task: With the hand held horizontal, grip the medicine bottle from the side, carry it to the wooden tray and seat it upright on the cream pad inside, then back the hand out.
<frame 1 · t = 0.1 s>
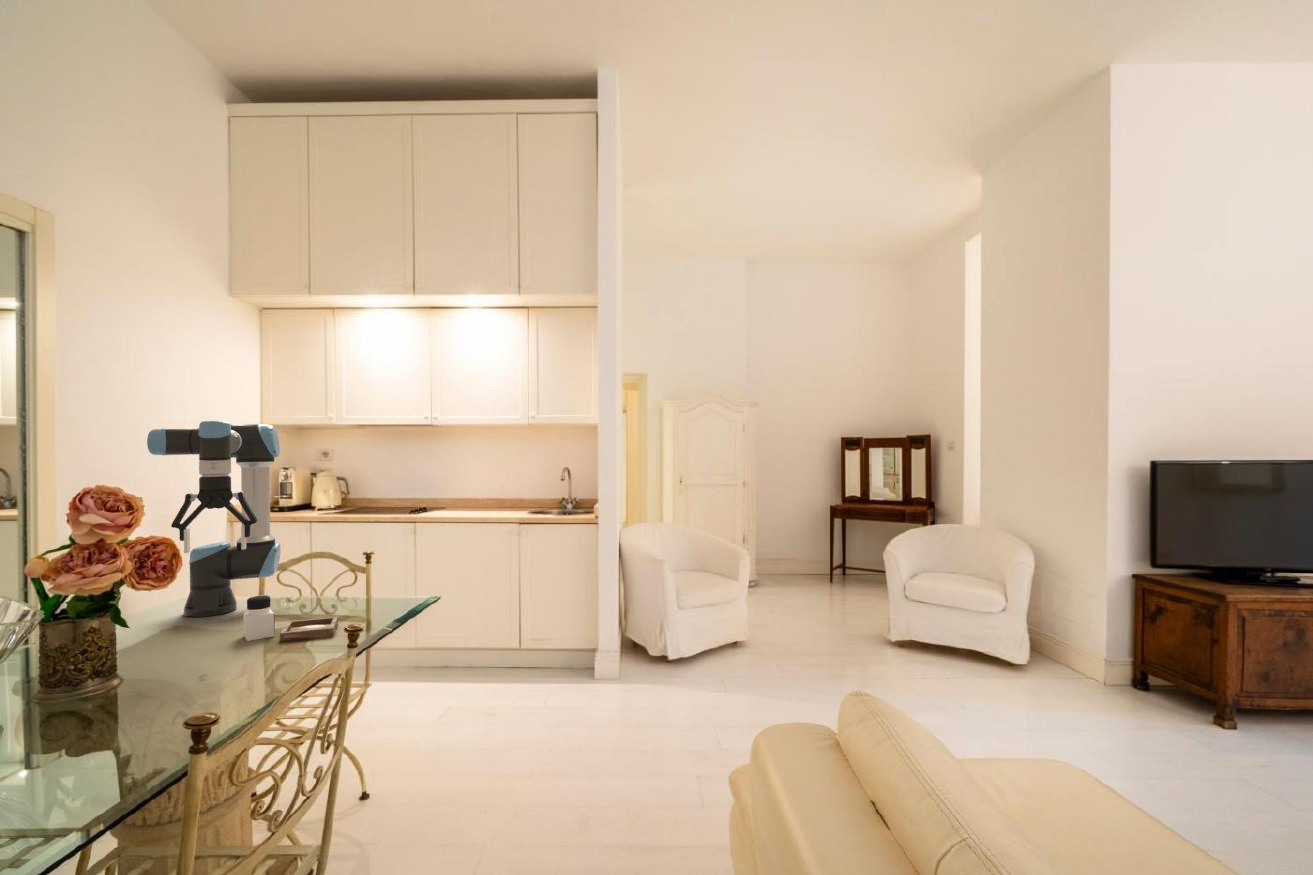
hand: (215, 550, 186), 28 cm above the table, tool pointing down, fingers open, 13 cm apart
medicine bottle: (259, 637, 197), on the table
wooden tray: (310, 632, 200), on the table
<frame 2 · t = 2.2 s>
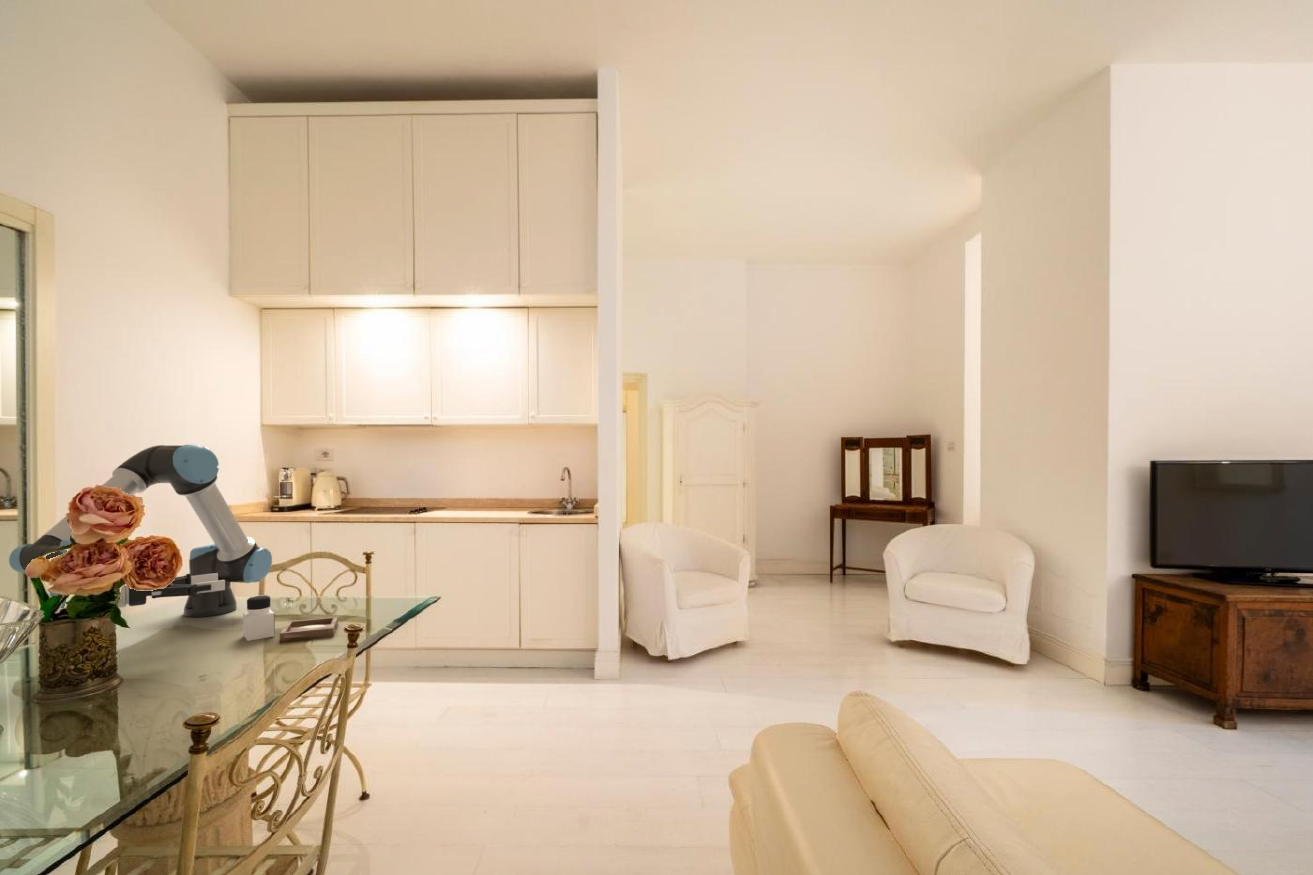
hand: (221, 581, 191), 18 cm above the table, tool horizontal, fingers open, 13 cm apart
nothing on the table moved.
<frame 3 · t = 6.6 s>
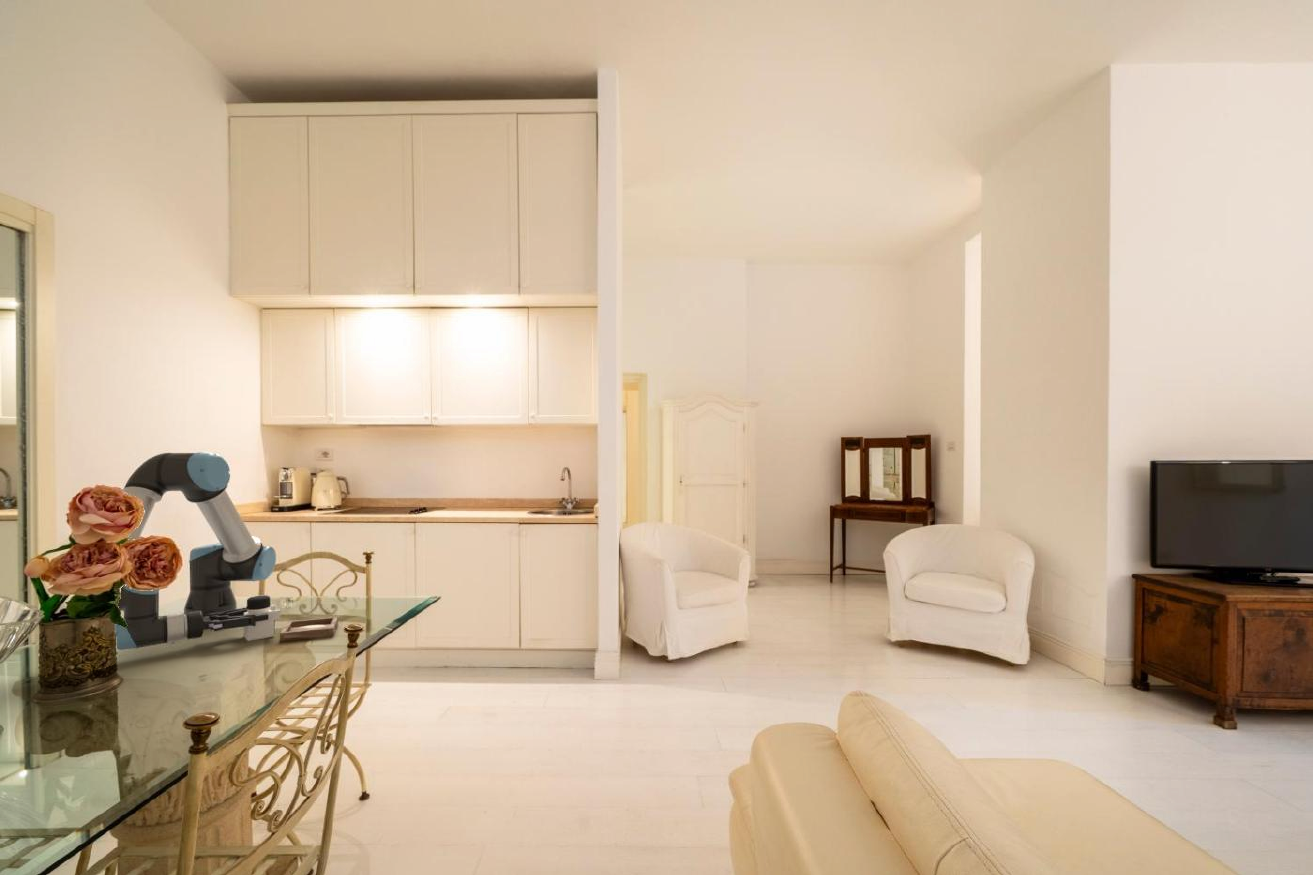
hand: (277, 611, 200), 7 cm above the table, tool horizontal, fingers closed on medicine bottle, 7 cm apart
medicine bottle: (259, 637, 197), on the table, touching gripper
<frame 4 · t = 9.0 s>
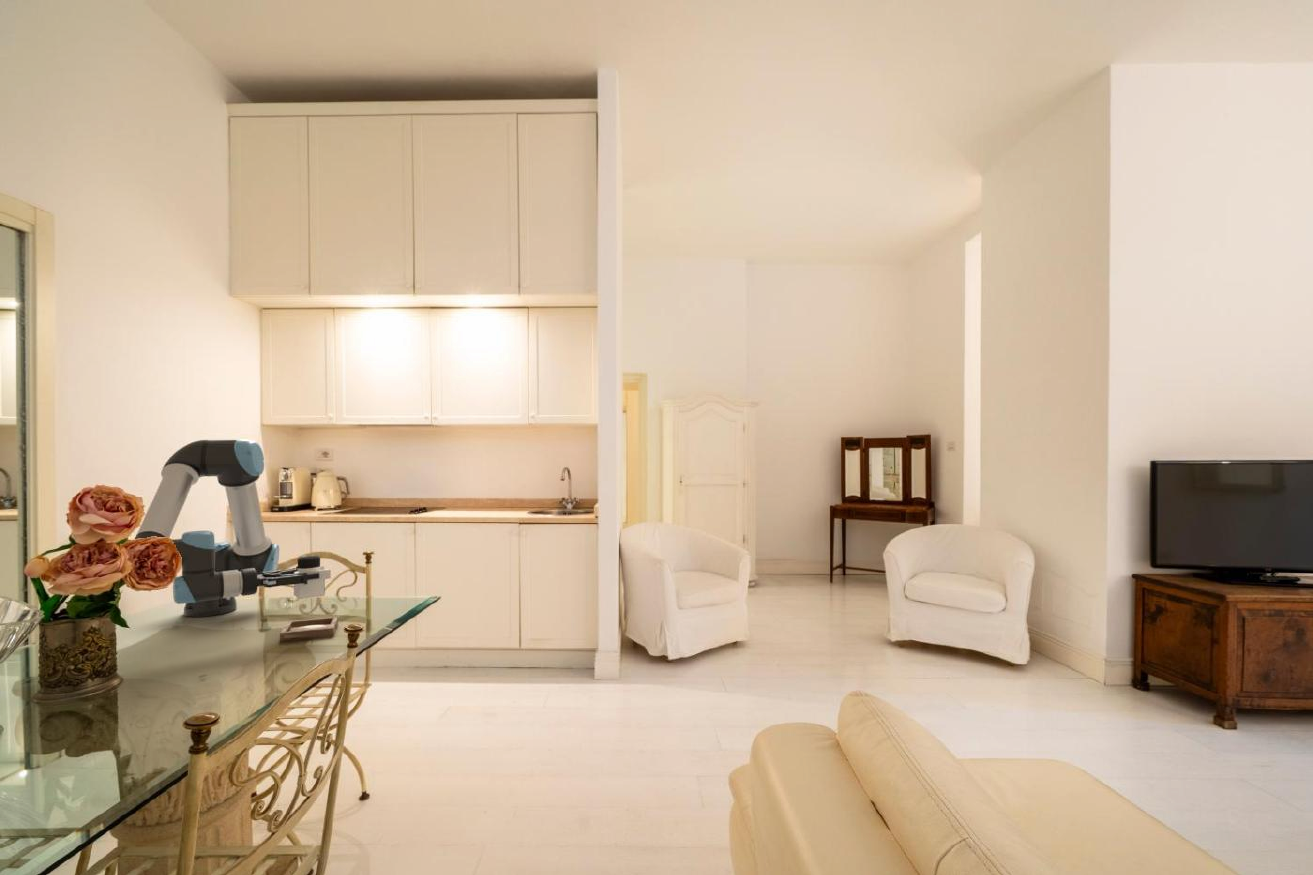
hand: (326, 571, 203), 18 cm above the table, tool horizontal, fingers closed on medicine bottle, 7 cm apart
medicine bottle: (309, 596, 200), point 11 cm above the table, touching gripper
when the fingers open (9 cm above the table, at t = 11.4 s): medicine bottle drops 1 cm, resting on wooden tray.
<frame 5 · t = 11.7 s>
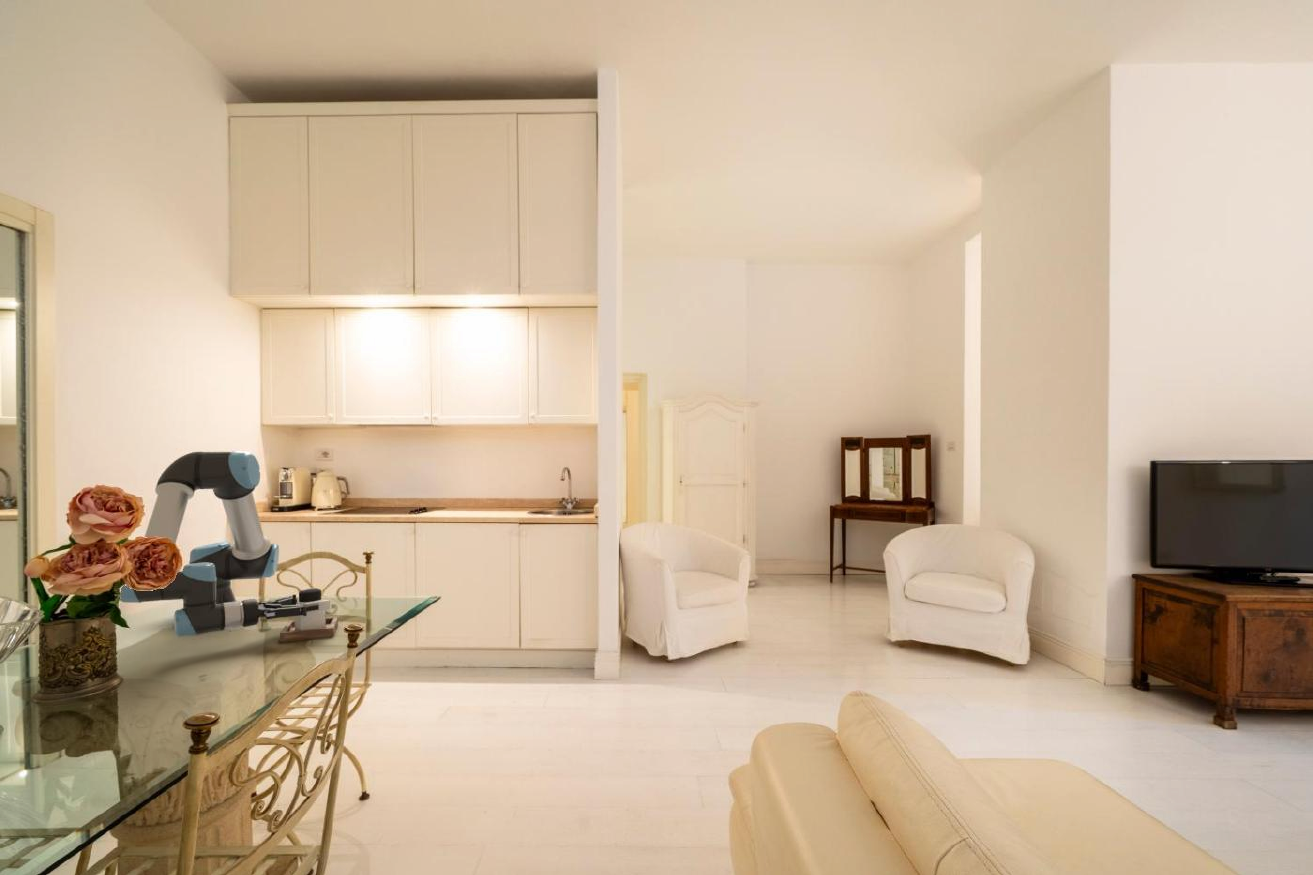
hand: (324, 601, 203), 9 cm above the table, tool horizontal, fingers open, 10 cm apart
medicine bottle: (310, 629, 200), point 1 cm above the table, touching wooden tray
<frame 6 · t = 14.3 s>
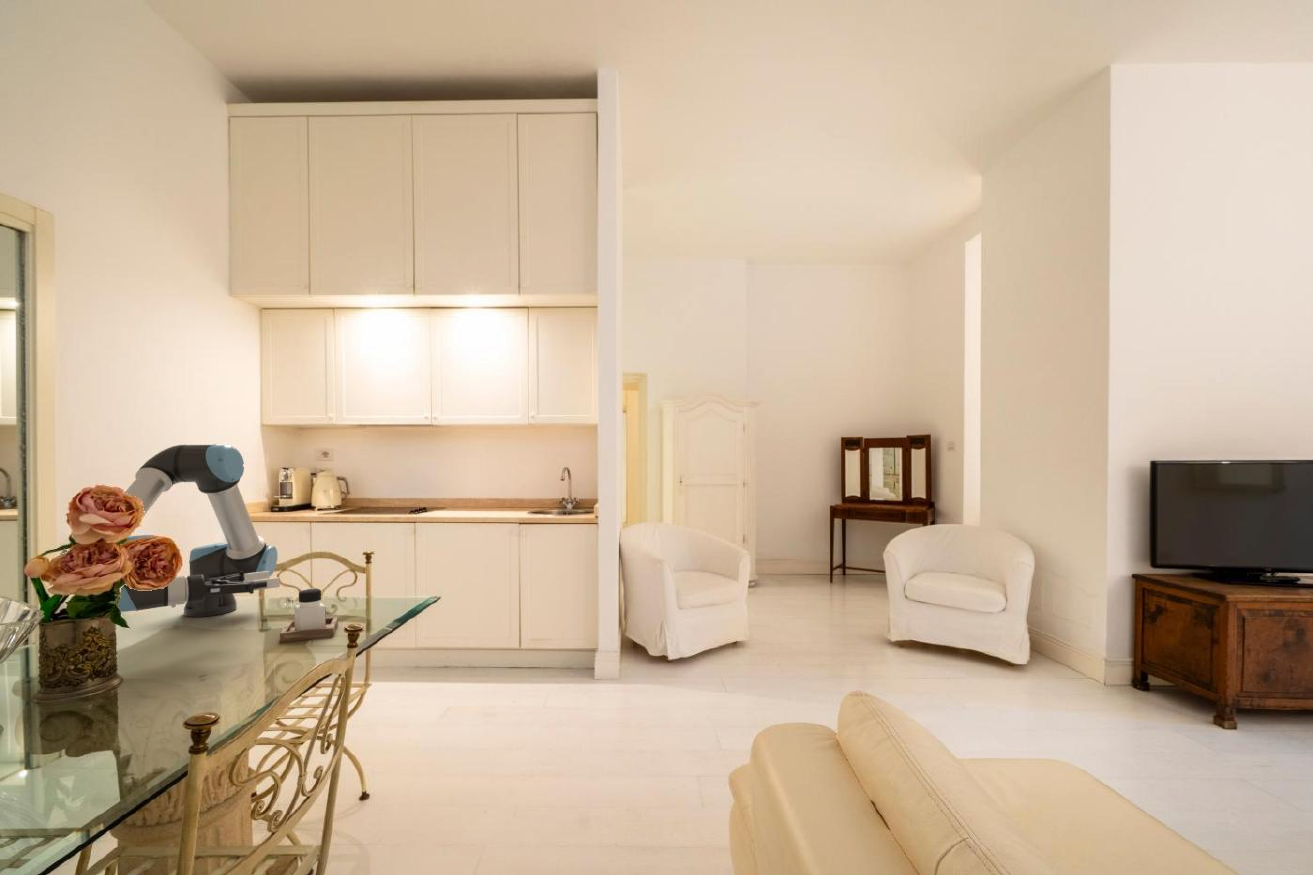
hand: (274, 578, 194), 18 cm above the table, tool horizontal, fingers open, 13 cm apart
nothing on the table moved.
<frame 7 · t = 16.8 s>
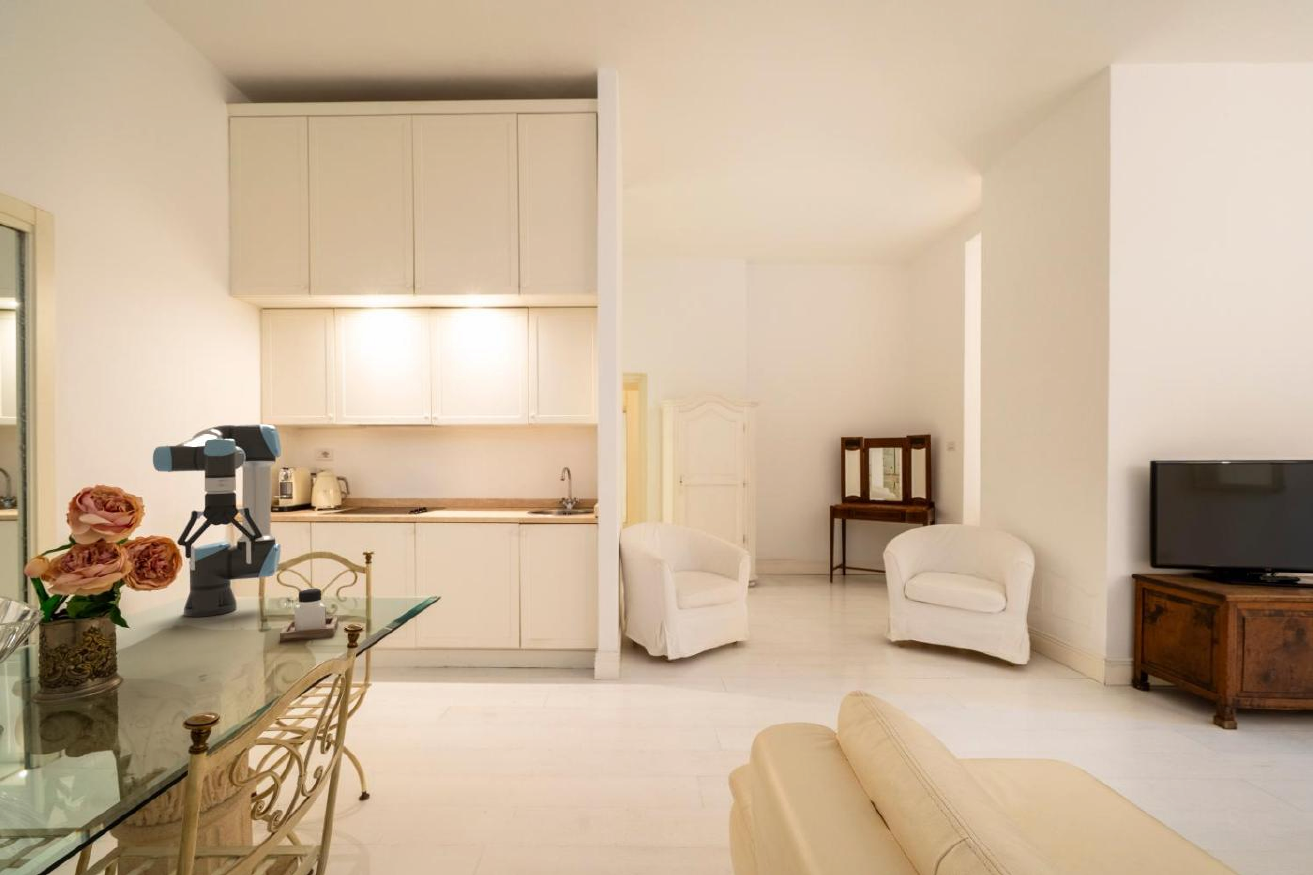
hand: (221, 566, 189), 23 cm above the table, tool pointing down, fingers open, 13 cm apart
nothing on the table moved.
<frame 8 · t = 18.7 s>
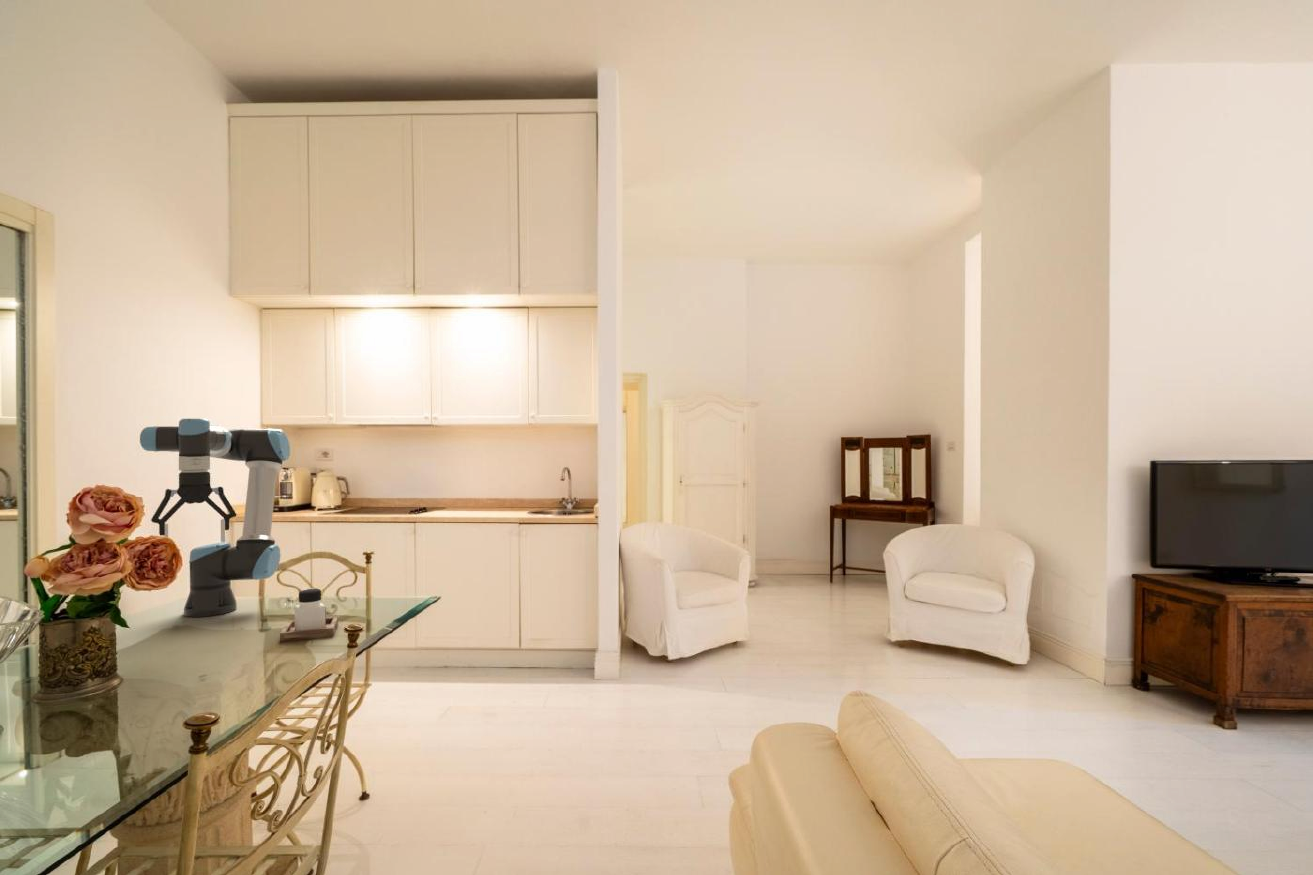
hand: (195, 544, 192), 29 cm above the table, tool pointing down, fingers open, 13 cm apart
nothing on the table moved.
at the end: medicine bottle inside the target area on the wooden tray (0.0 cm from its centre), point 1.0 cm above the wooden tray's base; medicine bottle tilted 0°; the gripper is holding nothing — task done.
